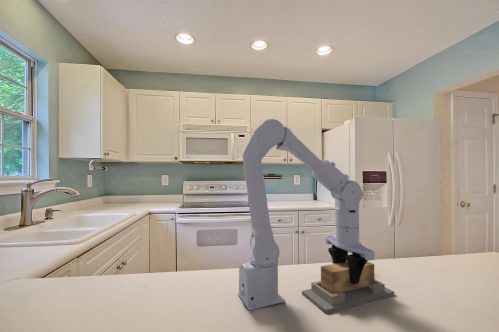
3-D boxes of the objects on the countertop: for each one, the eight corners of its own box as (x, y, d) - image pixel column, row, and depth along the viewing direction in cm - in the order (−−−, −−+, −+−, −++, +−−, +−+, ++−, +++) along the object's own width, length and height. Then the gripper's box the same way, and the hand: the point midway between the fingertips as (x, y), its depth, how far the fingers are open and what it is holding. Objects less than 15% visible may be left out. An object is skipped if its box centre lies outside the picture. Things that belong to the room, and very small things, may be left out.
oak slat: (332, 293, 54) (331, 272, 55) (321, 286, 58) (320, 266, 58) (374, 283, 60) (374, 264, 60) (361, 277, 63) (361, 259, 63)
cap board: (325, 313, 50) (325, 300, 51) (301, 294, 59) (301, 282, 59) (394, 294, 59) (394, 283, 59) (364, 280, 67) (364, 270, 67)
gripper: (383, 231, 54) (384, 289, 54) (338, 220, 68) (339, 266, 67) (361, 233, 52) (362, 295, 51) (319, 221, 65) (319, 270, 64)
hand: (347, 279), depth 59 cm, fingers closed on oak slat, 4 cm apart
